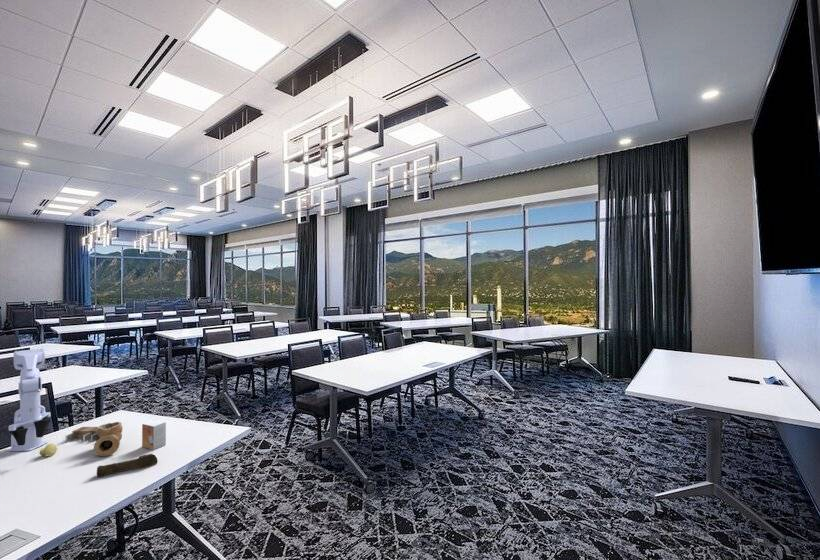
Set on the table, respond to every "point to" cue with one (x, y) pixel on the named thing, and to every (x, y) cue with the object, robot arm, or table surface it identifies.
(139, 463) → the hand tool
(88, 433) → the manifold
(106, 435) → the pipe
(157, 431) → the small box
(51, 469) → the table surface
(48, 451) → the knob
